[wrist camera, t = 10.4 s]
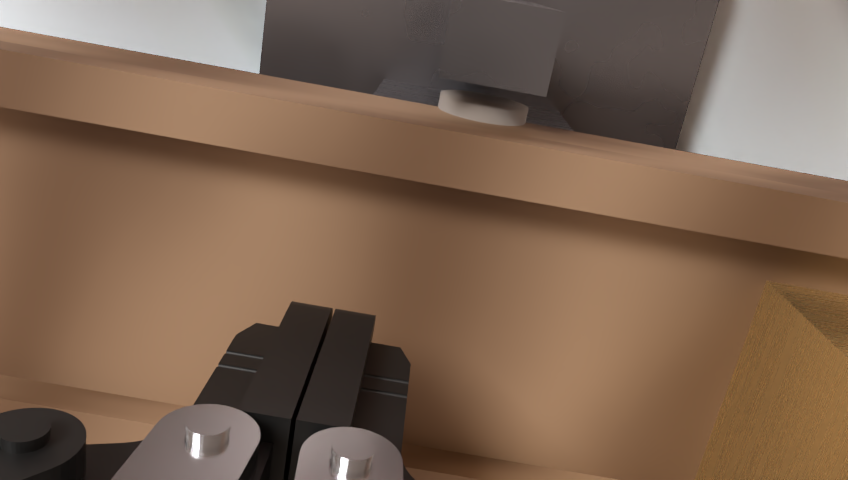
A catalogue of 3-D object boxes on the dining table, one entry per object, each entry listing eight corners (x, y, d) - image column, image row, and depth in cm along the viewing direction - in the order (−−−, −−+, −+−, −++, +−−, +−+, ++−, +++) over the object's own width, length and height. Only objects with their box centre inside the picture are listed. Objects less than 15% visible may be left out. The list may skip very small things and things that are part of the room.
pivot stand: (716, -33, 20) (881, -41, 12) (576, 449, 26) (629, 659, 18) (286, -114, 20) (176, -175, 12) (235, 390, 25) (135, 574, 18)
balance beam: (1041, 183, 18) (1265, 261, 13) (904, 472, 21) (1045, 626, 16) (-107, -27, 17) (-332, -29, 12) (-86, 302, 20) (-262, 407, 15)
